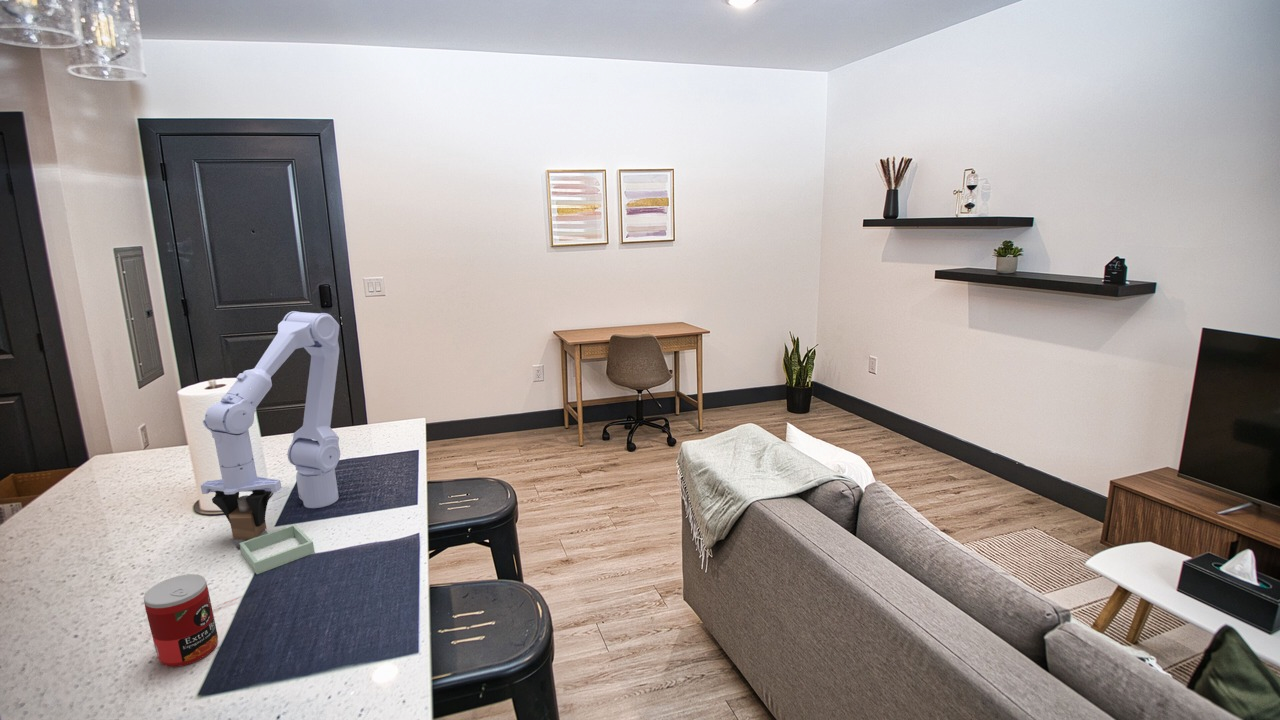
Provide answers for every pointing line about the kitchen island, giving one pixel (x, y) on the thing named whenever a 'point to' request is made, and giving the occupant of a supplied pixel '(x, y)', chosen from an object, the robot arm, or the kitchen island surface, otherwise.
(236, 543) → the stud plate
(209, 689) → the kitchen island surface
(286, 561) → the bin
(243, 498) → the brown square bottle
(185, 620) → the canned food
